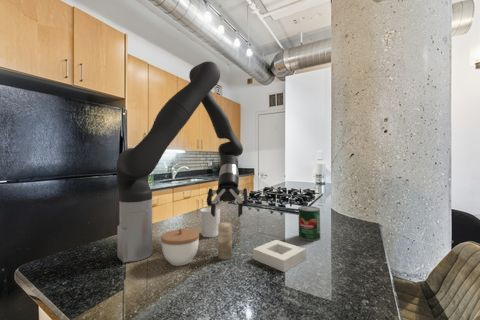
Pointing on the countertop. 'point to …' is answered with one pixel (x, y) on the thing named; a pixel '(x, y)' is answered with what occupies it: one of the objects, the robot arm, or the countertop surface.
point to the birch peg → (224, 241)
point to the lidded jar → (180, 246)
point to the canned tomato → (309, 223)
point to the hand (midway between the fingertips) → (226, 215)
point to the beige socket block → (279, 255)
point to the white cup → (209, 222)
